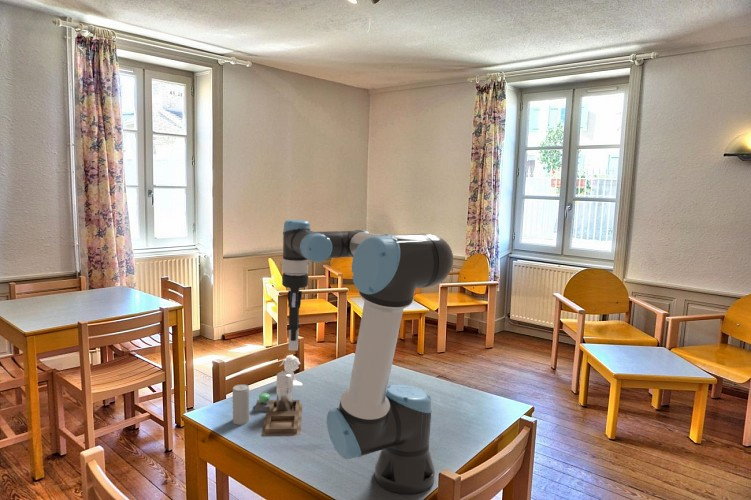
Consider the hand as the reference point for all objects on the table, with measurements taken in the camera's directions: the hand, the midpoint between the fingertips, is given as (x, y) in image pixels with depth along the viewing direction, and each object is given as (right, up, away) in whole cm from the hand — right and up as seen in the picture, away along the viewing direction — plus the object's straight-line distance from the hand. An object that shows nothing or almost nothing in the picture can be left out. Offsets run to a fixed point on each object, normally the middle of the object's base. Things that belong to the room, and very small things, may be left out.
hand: (293, 349), depth 152 cm
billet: (-4, -21, +8) cm, 23 cm away
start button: (-11, -18, +9) cm, 23 cm away
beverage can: (-16, -23, +1) cm, 28 cm away
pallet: (-5, -23, +3) cm, 24 cm away
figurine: (-6, -20, +29) cm, 35 cm away
